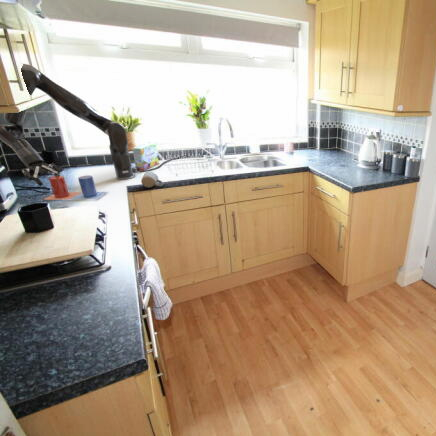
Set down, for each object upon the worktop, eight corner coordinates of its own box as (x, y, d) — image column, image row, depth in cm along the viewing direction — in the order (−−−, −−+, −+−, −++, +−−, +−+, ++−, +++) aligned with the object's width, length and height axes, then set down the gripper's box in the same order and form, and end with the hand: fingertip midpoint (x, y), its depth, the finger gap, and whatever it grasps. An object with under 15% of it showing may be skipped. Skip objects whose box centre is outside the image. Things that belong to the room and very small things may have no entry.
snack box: (144, 171, 211) (140, 148, 205) (136, 170, 211) (131, 148, 205) (159, 163, 231) (155, 142, 224) (151, 163, 230) (147, 142, 224)
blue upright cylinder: (87, 193, 168) (82, 175, 163) (99, 193, 168) (94, 175, 164) (81, 197, 162) (75, 178, 158) (93, 197, 163) (88, 178, 159)
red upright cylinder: (59, 194, 165) (53, 175, 161) (72, 194, 166) (66, 175, 162) (52, 198, 160) (45, 179, 156) (65, 198, 161) (59, 179, 157)
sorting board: (57, 193, 168) (56, 192, 168) (106, 192, 172) (106, 191, 171) (43, 200, 158) (43, 199, 158) (96, 199, 162) (96, 198, 162)
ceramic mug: (141, 188, 179) (139, 175, 176) (144, 184, 187) (142, 171, 183) (162, 188, 182) (160, 175, 179) (164, 183, 190) (162, 171, 186)
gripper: (14, 155, 154) (36, 182, 155) (48, 150, 166) (68, 175, 167) (12, 165, 158) (33, 190, 159) (45, 159, 170) (64, 183, 171)
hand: (51, 182), depth 163 cm, fingers open, 8 cm apart
